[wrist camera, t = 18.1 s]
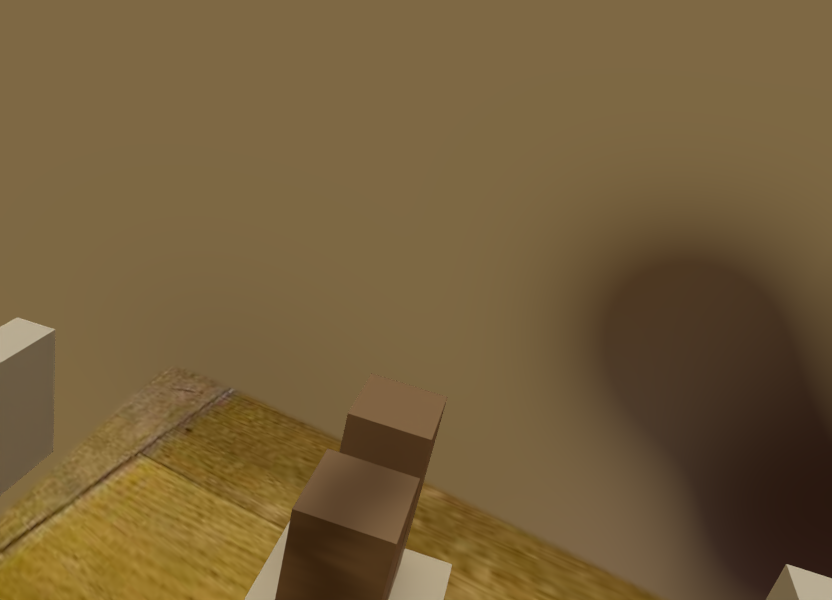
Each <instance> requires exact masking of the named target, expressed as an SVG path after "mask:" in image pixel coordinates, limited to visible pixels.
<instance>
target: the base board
mask: <svg viewBox="0 0 832 600" xmlns="http://www.w3.org/2000/svg"><path fill="white" fill-rule="evenodd" d="M446 400H447V397H446V396H443V395H440V394H436V393H433V392H430V391H427V390H423V389H420V388H417V387H414V386H411V385H407V384H404V383H401V382H398V381H395V380H391V379H388V378H385V377H382V376H379V375H375V374H371V375H370V377H369V379H368V380H367V382H366V384H365V386H364V387H363V389H362V390H361V392H360V394H359V396H358V398H357V399H356V401H355V402H354V404H353V406H352V407H351V409H350V411H349V412H348V415H347V420H346V425H345V430H344V434H343V438H342V443H341V448H340V453H343V454H346V455H349V456H352V457H355V458H358V459H361V460H364V461H367V462H370V463H374V464H377V465H380V466H383V467H386V468H389V469H392V470H395V471H398V472H401V473H404V474H407V475H410V476H413V477H417V478H420V480H419V484H418V488H417V491H416V495H415V498H414V502H413V506H412V509H411V513H410V516H409V520H408V524H407V527H406V531H405V534H404V538H403V542H402V545H401V549H400V552H399V556H398V560H397V563H396V567H395V570H394V574H393V578H392V581H391V585H390V588H389V592H388V595H387V599H386V600H444V595H445V591H446V587H447V583H448V579H449V575H450V571H451V567H452V564H449V563H447V562H444V561H441V560H438V559H435V558H432V557H429V556H426V555H423V554H420V553H417V552H414V551H411V550H408V549H405V546H406V542H407V539H408V535H409V532H410V528H411V525H412V521H413V518H414V514H415V510H416V507H417V503H418V500H419V496H420V493H421V489H422V486H423V482H424V478H425V475H426V471H427V467H428V464H429V461H430V457H431V453H432V450H433V446H434V443H435V439H436V436H437V432H438V429H439V425H440V422H441V418H442V414H443V410H444V407H445V404H446ZM289 524H290V522H289V523H288V525H287V527H286V528H285V530H284V532H283V534H282V535H281V537H280V539H279V540H278V542H277V544H276V546H275V547H274V549H273V551H272V553H271V554H270V556H269V558H268V559H267V561H266V563H265V565H264V566H263V568H262V570H261V572H260V573H259V575H258V577H257V578H256V580H255V582H254V584H253V585H252V587H251V589H250V590H249V592H248V594H247V596H246V597H245V599H244V600H275V597H276V592H277V586H278V581H279V576H280V571H281V566H282V560H283V555H284V550H285V545H286V539H287V534H288V529H289Z"/></svg>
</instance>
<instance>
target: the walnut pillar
mask: <svg viewBox="0 0 832 600" xmlns="http://www.w3.org/2000/svg"><path fill="white" fill-rule="evenodd" d="M419 480H420V478H417V477H413V476H410V475H407V474H404V473H401V472H398V471H395V470H392V469H389V468H386V467H383V466H380V465H377V464H374V463H370V462H367V461H364V460H361V459H358V458H355V457H352V456H349V455H346V454H343V453H340V452H337V451H334V450H331V449H327V451H326V453H325V454H324V456H323V458H322V459H321V461H320V463H319V464H318V466H317V468H316V470H315V471H314V473H313V475H312V476H311V478H310V480H309V481H308V483H307V485H306V487H305V488H304V490H303V492H302V493H301V495H300V497H299V498H298V500H297V502H296V504H295V505H294V507H293V509H292V513H291V518H290V524H289V529H288V534H287V539H286V545H285V550H284V555H283V560H282V566H281V571H280V576H279V581H278V586H277V592H276V597H275V600H386V599H387V595H388V592H389V588H390V585H391V581H392V578H393V574H394V570H395V567H396V563H397V560H398V556H399V552H400V549H401V545H402V542H403V538H404V534H405V531H406V527H407V524H408V520H409V516H410V513H411V509H412V506H413V502H414V498H415V495H416V491H417V488H418V484H419Z"/></svg>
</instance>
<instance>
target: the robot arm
mask: <svg viewBox="0 0 832 600" xmlns="http://www.w3.org/2000/svg"><path fill="white" fill-rule="evenodd" d="M54 371H55V329H52V328H49V327H45V326H43V325H40V324H36V323H33V322H30V321H27V320H24V319H21V318H16V319H14V320H12V321H10V322H8V323H6V324H5V325H3V326H1V327H0V496H1V495H2V494H3V493H4V492H5V491H6V490H8V489H9V488H10V487H11V486H12V485H14V484H15V483H16V482H17V481H18V480H20V479H21V478H22V477H23V476H24V475H26V474H27V473H28V472H29V471H31V470H32V469H33V468H34V467H35V466H37V465H38V464H39V463H40V462H41V461H43V460H44V459H45V458H46V457H47V456H49V455H50V454H51V453H52V452H53V435H54V434H53V433H54V376H55V375H54V374H55V372H54ZM766 600H832V579H831V578H828V577H825V576H822V575H819V574H816V573H813V572H809V571H807V570H803V569H800V568H797V567H794V566H791V565H788V564H786V566H785V567H784V569H783V571H782V573H781V574H780V576H779V578H778V580H777V581H776V583H775V585H774V587H773V589H772V590H771V592H770V594H769V595H768V597H767V599H766Z"/></svg>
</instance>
